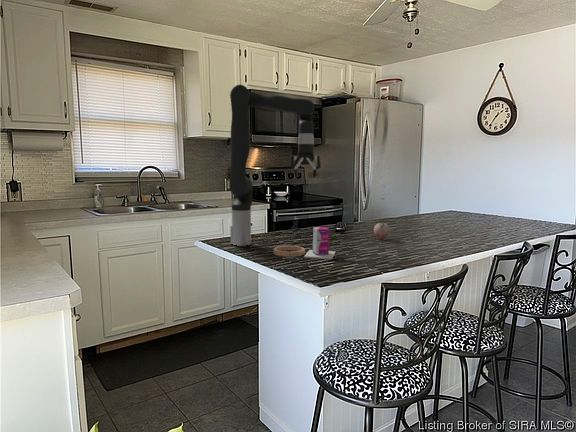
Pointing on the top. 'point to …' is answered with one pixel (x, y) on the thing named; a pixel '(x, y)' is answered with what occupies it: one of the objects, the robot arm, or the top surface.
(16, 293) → the top surface
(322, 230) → the supplement box
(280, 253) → the tan faceted ring
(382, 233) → the decorative fruit
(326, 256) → the rubber mat
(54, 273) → the top surface
